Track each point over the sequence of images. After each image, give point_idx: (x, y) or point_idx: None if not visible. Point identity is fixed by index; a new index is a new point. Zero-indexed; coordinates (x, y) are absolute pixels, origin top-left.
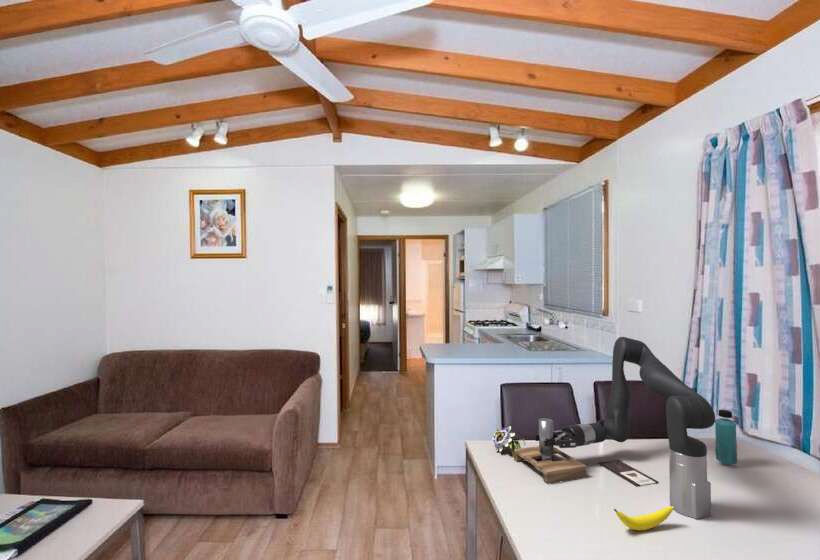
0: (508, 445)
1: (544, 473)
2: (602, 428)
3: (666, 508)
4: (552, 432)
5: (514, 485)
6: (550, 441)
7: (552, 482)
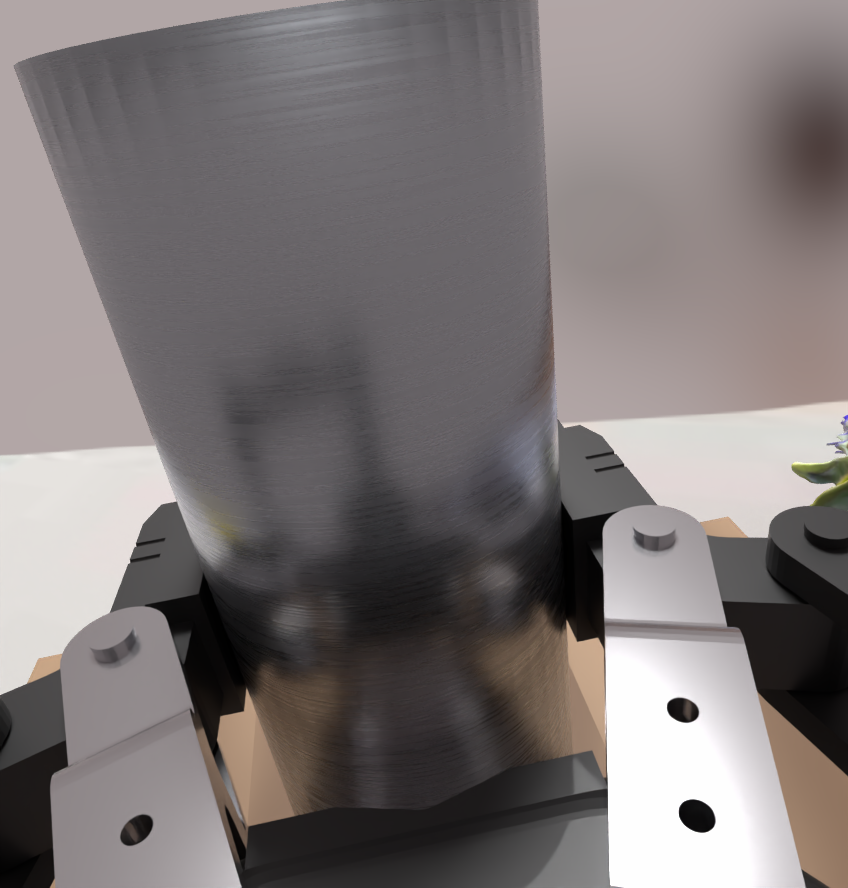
0: (811, 472)
1: None
2: None
3: None
4: (158, 445)
5: None
6: (156, 552)
7: None
